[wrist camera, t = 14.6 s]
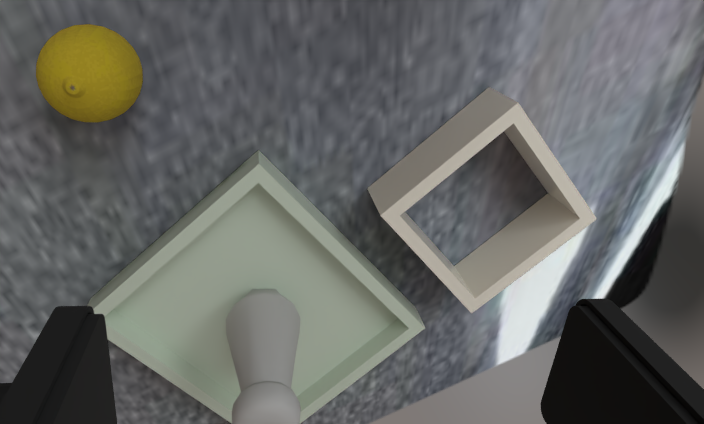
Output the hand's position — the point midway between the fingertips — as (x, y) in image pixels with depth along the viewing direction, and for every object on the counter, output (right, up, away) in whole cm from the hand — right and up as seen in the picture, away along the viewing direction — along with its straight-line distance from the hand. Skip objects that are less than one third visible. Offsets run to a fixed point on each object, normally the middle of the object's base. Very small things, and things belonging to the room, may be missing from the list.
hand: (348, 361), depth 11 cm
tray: (-7, -5, +35) cm, 36 cm away
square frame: (+10, +5, +33) cm, 35 cm away
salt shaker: (-7, -5, +34) cm, 35 cm away
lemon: (-16, +13, +25) cm, 32 cm away
